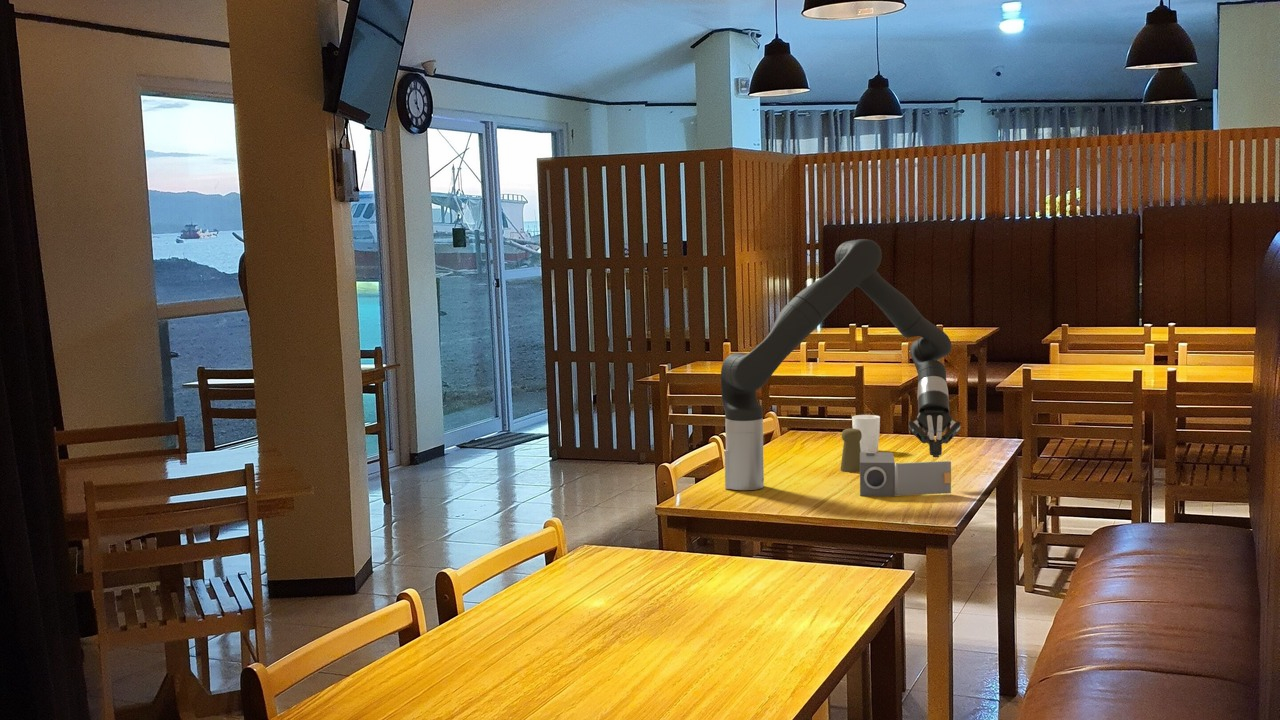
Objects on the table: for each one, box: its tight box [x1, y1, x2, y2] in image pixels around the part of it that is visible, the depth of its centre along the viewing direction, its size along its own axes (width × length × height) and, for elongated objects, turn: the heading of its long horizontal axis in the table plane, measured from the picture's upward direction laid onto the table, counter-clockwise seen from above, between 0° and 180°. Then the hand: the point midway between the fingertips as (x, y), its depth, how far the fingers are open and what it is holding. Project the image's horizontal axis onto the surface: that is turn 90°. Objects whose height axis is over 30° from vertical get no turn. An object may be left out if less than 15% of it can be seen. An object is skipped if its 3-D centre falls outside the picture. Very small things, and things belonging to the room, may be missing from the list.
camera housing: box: [859, 451, 896, 497], centre depth 286 cm, size 8×15×9 cm, turn 170°
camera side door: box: [895, 460, 952, 496], centre depth 279 cm, size 2×14×8 cm, turn 96°
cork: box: [839, 427, 862, 473], centre depth 312 cm, size 6×6×11 cm
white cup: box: [851, 414, 881, 452], centre depth 340 cm, size 8×8×10 cm
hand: (936, 455), depth 286 cm, fingers closed
